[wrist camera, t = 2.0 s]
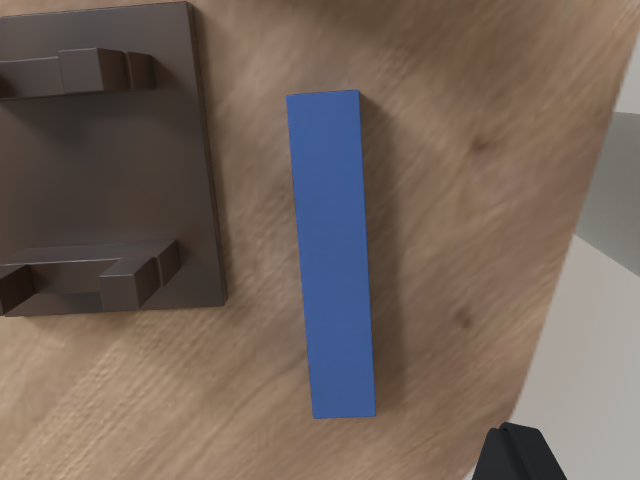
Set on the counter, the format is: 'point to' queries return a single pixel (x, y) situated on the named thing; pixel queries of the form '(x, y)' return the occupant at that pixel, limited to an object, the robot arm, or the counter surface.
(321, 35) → the counter surface
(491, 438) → the robot arm
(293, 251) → the counter surface
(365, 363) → the blue bar
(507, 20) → the counter surface
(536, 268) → the counter surface
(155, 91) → the holder
